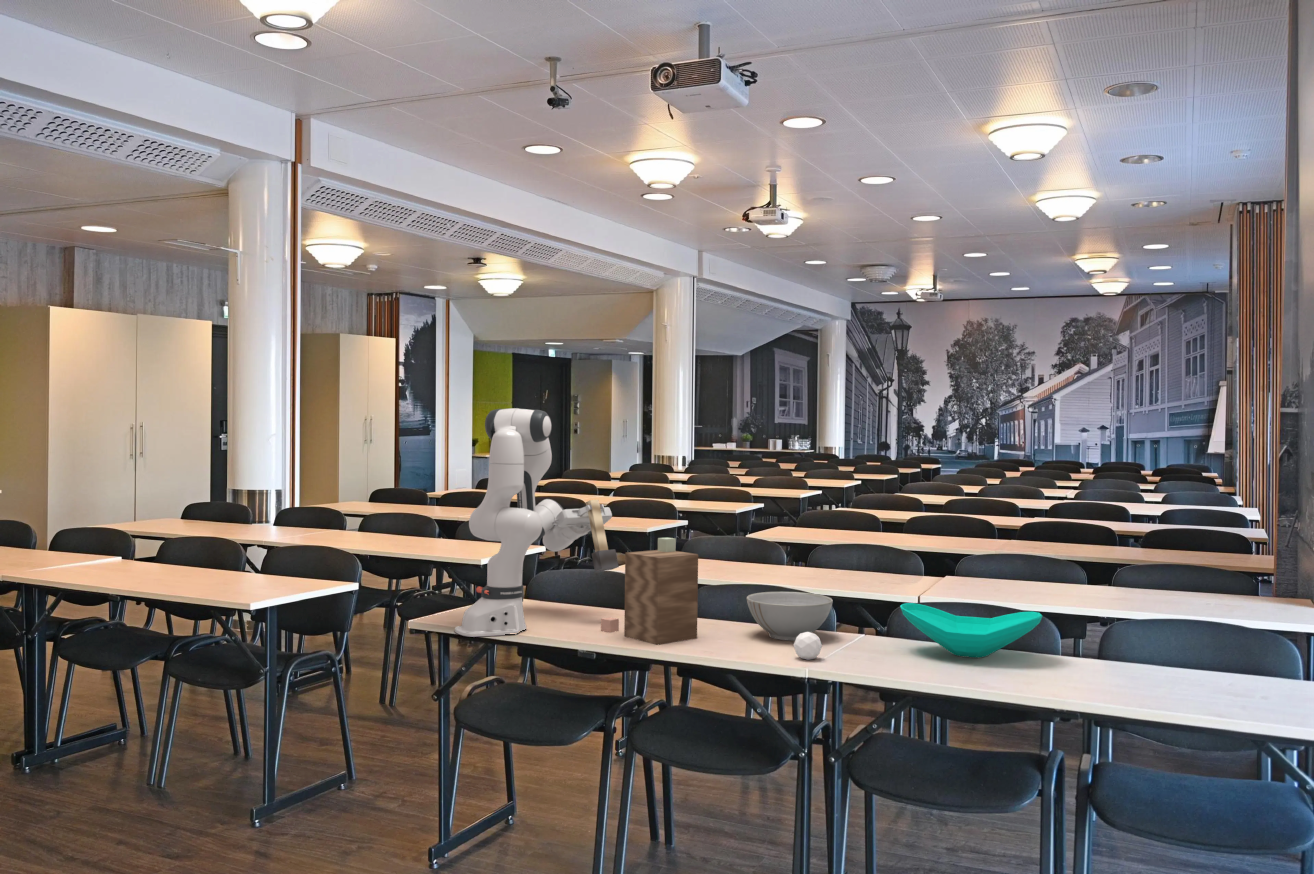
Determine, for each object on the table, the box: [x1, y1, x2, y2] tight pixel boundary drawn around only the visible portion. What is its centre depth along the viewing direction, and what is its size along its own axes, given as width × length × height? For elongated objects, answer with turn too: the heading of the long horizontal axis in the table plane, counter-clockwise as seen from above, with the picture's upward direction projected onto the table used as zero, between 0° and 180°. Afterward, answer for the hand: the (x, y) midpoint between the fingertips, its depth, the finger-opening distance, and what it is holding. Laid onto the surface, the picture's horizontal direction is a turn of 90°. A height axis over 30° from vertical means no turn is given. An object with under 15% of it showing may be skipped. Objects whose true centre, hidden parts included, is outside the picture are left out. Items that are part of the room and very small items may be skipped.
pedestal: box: [623, 549, 699, 646], centre depth 325 cm, size 16×16×26 cm
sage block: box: [657, 537, 677, 552], centre depth 331 cm, size 4×4×4 cm
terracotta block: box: [600, 616, 620, 634], centre depth 334 cm, size 4×4×4 cm
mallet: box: [585, 499, 619, 572], centre depth 349 cm, size 24×7×4 cm
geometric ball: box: [793, 632, 823, 661], centre depth 297 cm, size 8×8×8 cm
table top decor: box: [899, 602, 1043, 659], centre depth 304 cm, size 40×28×13 cm
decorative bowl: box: [746, 591, 834, 641], centre depth 329 cm, size 27×27×12 cm
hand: (596, 506), depth 350 cm, fingers closed on mallet, 3 cm apart
